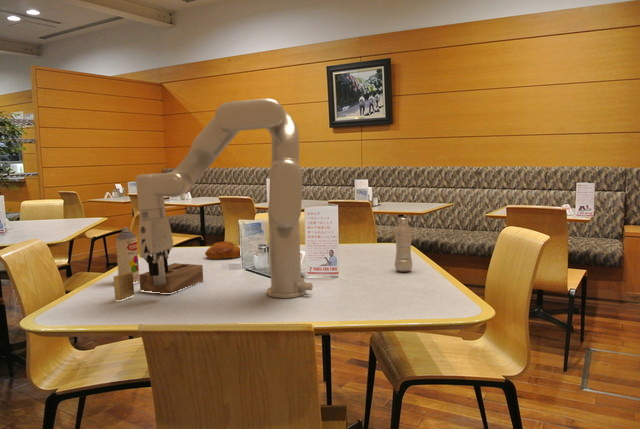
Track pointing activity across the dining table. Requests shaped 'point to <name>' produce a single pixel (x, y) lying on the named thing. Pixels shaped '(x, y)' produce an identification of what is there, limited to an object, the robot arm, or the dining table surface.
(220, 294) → the dining table surface
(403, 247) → the plastic bottle
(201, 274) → the socket block
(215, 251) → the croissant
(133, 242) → the aerosol can
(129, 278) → the tan wooden block
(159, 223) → the robot arm
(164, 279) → the small grey capped bottle
